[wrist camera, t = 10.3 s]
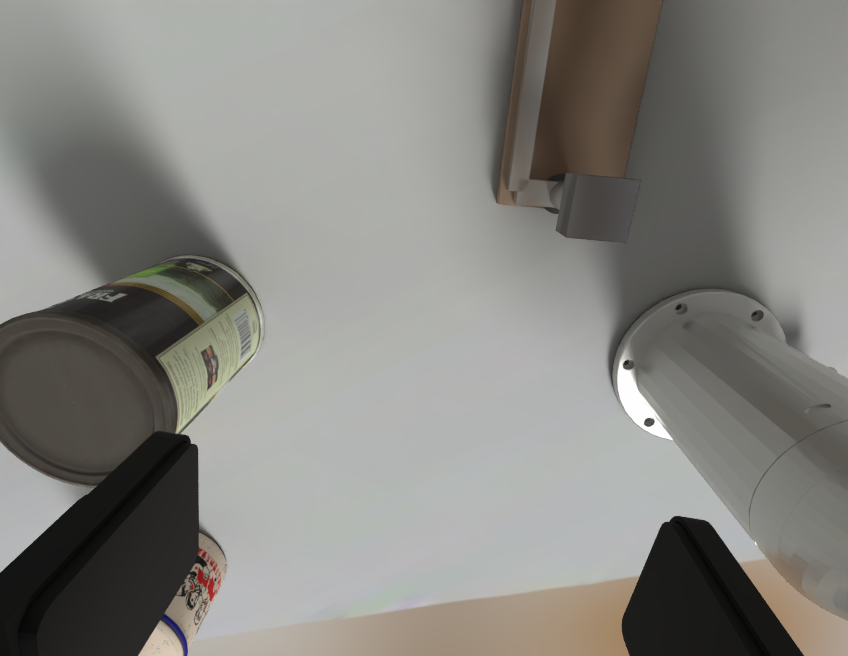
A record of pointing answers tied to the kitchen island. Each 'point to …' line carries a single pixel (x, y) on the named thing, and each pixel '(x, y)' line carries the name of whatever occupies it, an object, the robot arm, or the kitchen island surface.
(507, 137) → the brown wooden stand
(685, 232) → the kitchen island surface
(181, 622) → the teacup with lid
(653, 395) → the robot arm
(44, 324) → the coffee can
